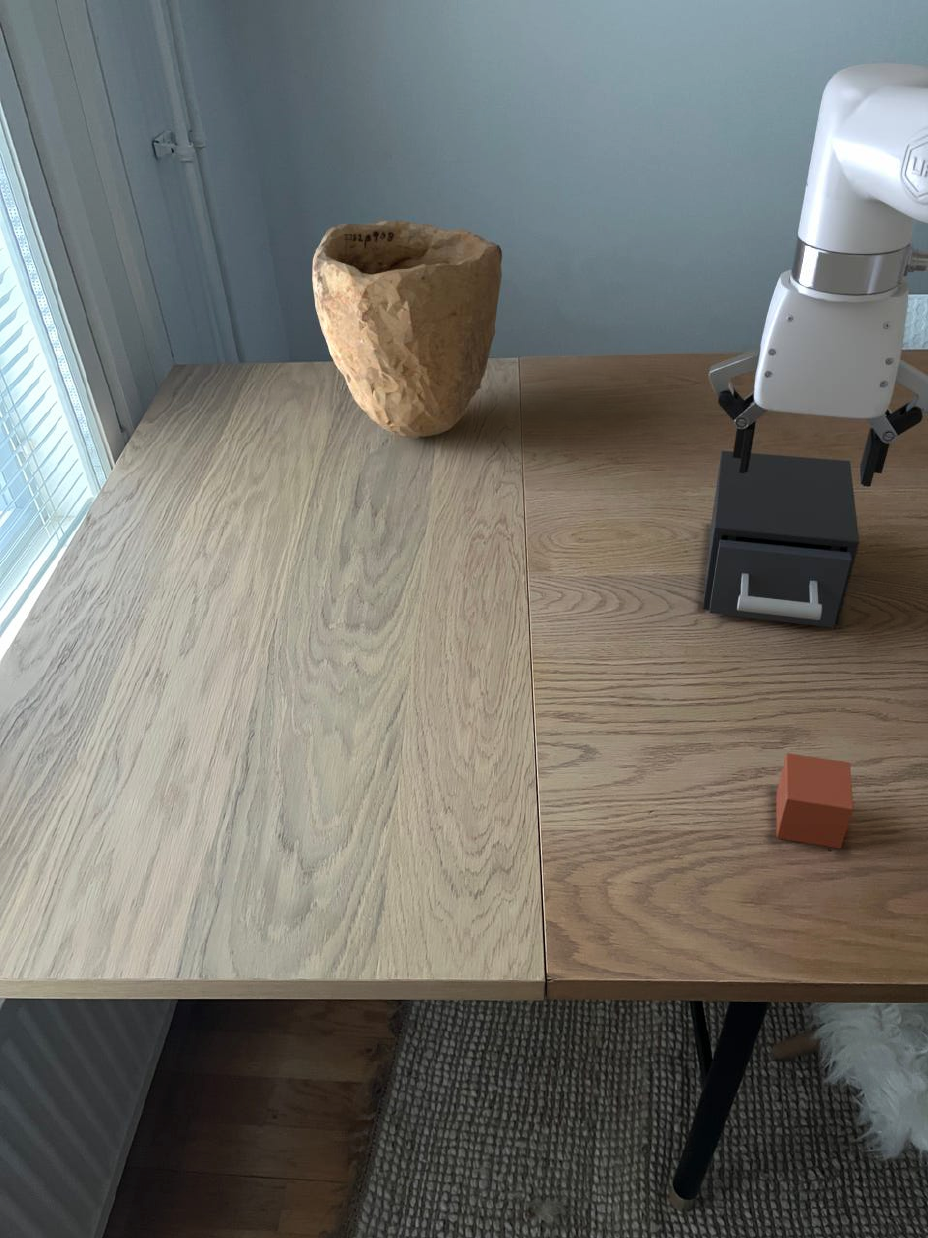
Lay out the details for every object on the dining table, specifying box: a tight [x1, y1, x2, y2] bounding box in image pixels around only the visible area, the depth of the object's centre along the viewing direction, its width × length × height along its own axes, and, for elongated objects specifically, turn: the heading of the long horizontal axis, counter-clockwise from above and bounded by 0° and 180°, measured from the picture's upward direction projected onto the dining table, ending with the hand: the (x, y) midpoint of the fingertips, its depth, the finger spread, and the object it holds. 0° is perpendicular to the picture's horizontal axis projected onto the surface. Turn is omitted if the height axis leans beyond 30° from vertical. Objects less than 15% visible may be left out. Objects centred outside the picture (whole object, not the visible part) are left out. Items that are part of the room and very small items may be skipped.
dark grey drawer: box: [708, 535, 851, 629], centre depth 91 cm, size 18×11×8 cm, turn 166°
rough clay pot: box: [311, 219, 503, 439], centre depth 116 cm, size 22×22×25 cm
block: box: [776, 753, 854, 850], centre depth 71 cm, size 5×5×5 cm
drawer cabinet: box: [702, 450, 860, 625], centre depth 94 cm, size 15×13×10 cm
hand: (803, 471), depth 79 cm, fingers open, 9 cm apart
